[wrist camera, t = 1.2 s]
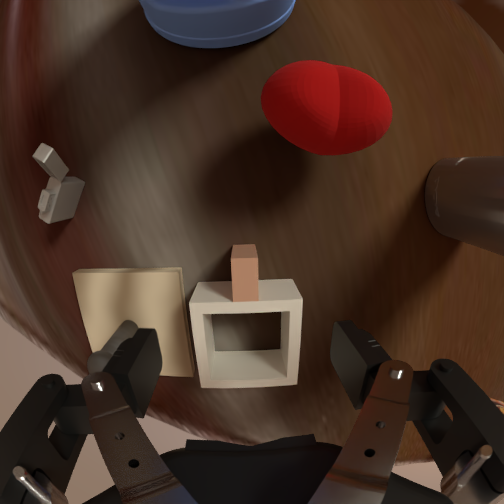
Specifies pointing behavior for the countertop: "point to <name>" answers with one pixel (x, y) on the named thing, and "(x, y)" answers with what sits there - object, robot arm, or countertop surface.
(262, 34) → the water jug
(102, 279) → the beige peg base
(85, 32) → the countertop surface
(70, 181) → the lighter
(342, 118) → the red heart
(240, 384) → the white square frame
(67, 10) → the countertop surface
